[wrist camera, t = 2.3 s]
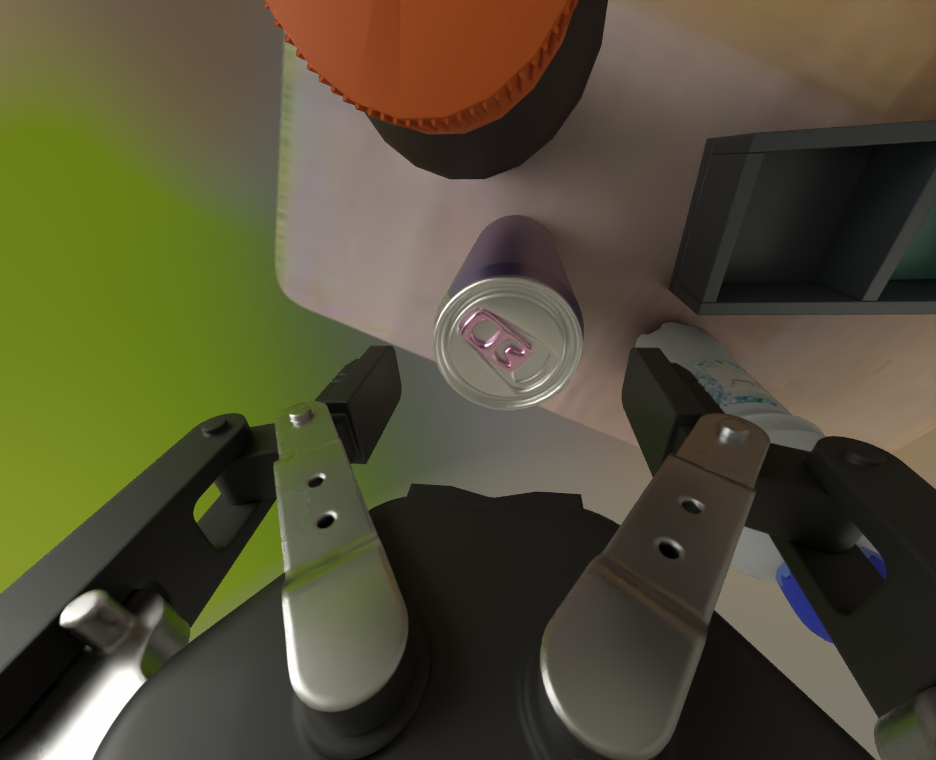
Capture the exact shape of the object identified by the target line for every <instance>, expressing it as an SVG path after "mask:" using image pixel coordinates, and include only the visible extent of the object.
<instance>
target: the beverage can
mask: <svg viewBox="0 0 936 760" xmlns="http://www.w3.org/2000/svg"><path fill="white" fill-rule="evenodd" d="M583 338H584V323H583V317H582V313H581V310H580V307H579V305H578V302H577V300H576V297H575V295H574V292H573V290H572V287H571V285H570V282H569V280H568V277H567V275H566V272H565V270H564V267H563V265H562V262H561V260H560V257H559V255H558V252H557V250H556V247H555V245H554V242H553V240H552V238H551V236H550V234H549V233H548V231H547V230H546V229H545V228H544V227H543V226H542V225H541V224H540V223H539V222H537V221H535V220H534V219H532V218H529V217H526V216H520V215H511V216H506V217H502V218H500V219H497V220H495V221H494V222H492V223H491V224H489V225H488V226H487V227H486V228H485V229H484V230H483V231H482V232H481V234H480V235H479V237H478V239H477V240H476V242H475V244H474V246H473V247H472V249H471V251H470V252H469V254H468V256H467V258H466V259H465V261H464V263H463V265H462V266H461V268H460V270H459V271H458V273H457V275H456V277H455V278H454V280H453V282H452V284H451V285H450V287H449V289H448V290H447V292H446V294H445V296H444V297H443V299H442V301H441V303H440V305H439V308H438V310H437V313H436V317H435V323H434V336H433V350H434V356H435V360H436V363H437V365H438V368H439V370H440V372H441V374H442V375H443V377H444V378H445V380H446V381H447V382H448V384H449V385H450V386H451V387H452V388H453V389H454V390H455V391H456V392H458V393H459V394H460V395H461V396H463V397H464V398H466V399H468V400H470V401H471V402H474V403H476V404H478V405H481V406H484V407H487V408H491V409H497V410H520V409H525V408H530V407H533V406H536V405H539V404H541V403H543V402H545V401H547V400H549V399H551V398H552V397H554V396H555V395H556V394H558V393H559V392H560V391H561V390H562V389H563V388H564V387H565V386H566V385H567V384H568V383H569V382H570V380H571V379H572V377H573V376H574V374H575V372H576V370H577V368H578V366H579V363H580V360H581V356H582V350H583Z"/></svg>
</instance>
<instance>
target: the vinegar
mask: <svg viewBox="0 0 936 760" xmlns="http://www.w3.org/2000/svg"><path fill="white" fill-rule="evenodd" d="M607 3H608V0H266V1H265V2H264V7H266V8H268V9H269V10H271V12H272V14H273V15H274V16H275V18H276V19H275V21H274V24H275V25H276V26H278V27H280V28H282V29H283V30H285V32H286V33H287V34H286V36H285V41H286V42H288V43H290V44H292V45H294V46H296V47H297V48H298V49H297V51H296V56H297V57H299V58H301V59H304V60H306V61H307V62H308V65H307V69H308V70H310V71H312V72H314V73H317V74H319V75H320V76H319V82H322V83H324V84H327V85H329V86H331V92H332V93H335V94H338V95H340V96H343V101H344V102H347V103H350V104H353V105H355V108H356V109H357V110H360V111H363V112H365V114H366V115H367V116H368V118H369V119H370V121H371V122H372V124H373V125H374V127H375V128H376V129H377V131H378V132H379V134H380V135H381V137H382V138H383V139H384V141H385V142H386V143H388V144H389V145H390V146H391V147H393V148H394V149H395V150H396V151H397V152H399V153H400V154H401V155H402V156H404V157H405V158H406V159H407V160H409V161H410V162H411V163H412V164H413V165H415V166H416V167H419V168H421V169H424V170H427V171H429V172H432V173H435V174H437V175H440V176H443V177H446V178H448V179H486V178H489V177H492V176H494V175H497V174H500V173H502V172H505V171H507V170H510V169H513V168H515V167H518V166H520V165H521V164H523V163H524V162H525V161H526V160H528V159H529V158H530V157H531V156H532V155H534V154H535V153H536V152H537V151H539V150H540V149H541V148H542V147H543V146H545V145H546V144H547V143H548V142H550V141H551V140H552V139H553V138H554V136H555V135H556V133H557V132H558V131H559V129H560V128H561V126H562V125H563V123H564V122H565V121H566V119H567V118H568V116H569V115H570V113H571V112H572V111H573V109H574V108H575V106H576V105H577V103H578V102H579V101H580V99H581V97H582V94H583V91H584V89H585V86H586V84H587V81H588V79H589V76H590V73H591V71H592V68H593V66H594V63H595V60H596V58H597V55H598V53H599V50H600V47H601V44H602V38H603V31H604V24H605V17H606V10H607Z"/></svg>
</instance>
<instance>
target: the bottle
mask: <svg viewBox="0 0 936 760" xmlns="http://www.w3.org/2000/svg"><path fill="white" fill-rule="evenodd" d="M635 347H641V348H660V349H661V351H662V352H663V353H664V355H665V356H666V357H667V358H668V360H669V361H670V362H671V363H677V364H679V365H681V366H682V367H684V368H686V369H687V370H689V371H691V373H692V374H693V375H694V376H695V377H696V379H697V380H698V383H701V385H702V386H703V387H704V388H705V391H707V392H708V393H709V394H710V396H711V397H712V398H713V399H714V400H715V402H716V403H717V404H718V405H719V406H720V408H721V409H722V410H723V411H724V412H725V414H730V415H734V416H738V417H741V418H744V419H746V420H748V421H750V422H752V423H754V424H756V425H757V426H759V427H760V428H762V429H763V430H764V431H765V432H766V433H767V434H768V436H769V438H770V443H774V444H778V445H782V446H787V447H792V448H796V449H801V450H805V451H810V452H811V451H812V449H813V448H814V446H815V444H816V443H817V441H818V440H819V439H821V438H824V437H827V436H825V435H824V433H823V432H822V431H821V430H820V429H819V428H818V427H817V426H816V425H814V424H813V423H811V422H809V421H807V420H805V419H803V418H800V417H798V416H793V415H792V414H791V413H790V412H789V411H788V410H787V409H785V408H784V407H783V406H782V405H781V404H780V403H779V402H778V401H777V400H776V399H775V398H774V397H773V396H772V395H771V394H769V393H768V392H767V391H766V390H765V389H764V388H763V387H762V386H761V385H760V384H759V383H758V382H757V381H756V380H755V379H754V378H752V377H751V376H750V375H749V374H748V373H747V372H746V371H745V370H744V369H742V368H741V367H740V366H739V364H738V363H737V362H736V361H735V360H734V358H733V357H732V356H731V355H730V354H729V352H728V351H727V350H726V349H725V348H724V347H723V346H722V345H721V344H720V342H719V341H718V340H717V339H716V338H714V337H713V336H712V335H711V334H710V333H708V332H707V331H705V330H704V329H702V328H700V327H697V326H688V325H683V324H679V323H675V322H668V323H664V324H662V325H661V329H659V330H657V331H655V332H653V333H651V334H642V335H640V336H639V338H638V339H637V340H636V343H635ZM628 359H629V357H628ZM627 364H628V361H627ZM856 544H857V546H858V547H859V548H860V549H861V551H862V552H863V553H864V554H865V555H866V557H867V558H868V559H869V560H870V562H871V563H872V564H873V565H874V566H875V568H876V569H877V570H878V571H879V573H880V574H881V575H882V576H883V577H884V579H885V580H886V575H887V571H886V566H885V563H884V560H883V558H882V557H881V555H880V554H879V552H878V551H877V550H876V549H875V548H874V546H873V545H872V544H871V543H870V542H869V541H868V539H867V538H866V537H865V536H864V535H863V536H862V537H861V538H860V539H859V540H858V541H857V543H856ZM731 565H732V566H733V567H734V568H736V569H737V570H739V571H740V572H742V573H744V574H746V575H748V576H752V577H755V578H758V579H761V580H767V581H772V582H778V584H779V586H780V587H781V590H782V591H783V593H784V595H785V597H786V598H787V600H788V602H789V603H790V605H791V607H792V608H793V609H794V611H795V613H796V614H797V615H798V617H799V618H800V619H801V621H802V622H803V623H804V624H805V625H806V626H807V627H808V628H809V629H810V630H811V631H812V632H814V633H815V634H816V635H818V636H820V637H821V638H823V639H824V640H826V641H828V642H831V643H833V641H832V640H831V638H830V636H829V635H828V633H827V631H826V630H825V628H824V626H823V625H822V623H821V621H820V620H819V618H818V616H817V615H816V613H815V611H814V610H813V608H812V606H811V605H810V603H809V601H808V600H807V598H806V596H805V595H804V593H803V591H802V590H801V588H800V586H799V585H798V583H797V581H796V580H795V578H794V576H793V575H792V573H791V571H790V570H789V568H788V566H787V565H786V563H785V561H784V560H783V558H782V556H781V555H780V553H779V551H778V550H777V548H776V546H775V545H774V543H773V541H772V540H771V538H770V536H769V534H766V533H763V532H760V531H756V530H753V529H750V528H747V527H743V530H742V533H741V536H740V539H739V541H738V544H737V547H736V550H735V552H734V555H733V558H732V561H731Z"/></svg>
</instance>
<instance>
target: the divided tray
mask: <svg viewBox="0 0 936 760" xmlns="http://www.w3.org/2000/svg"><path fill="white" fill-rule="evenodd" d="M669 290H670V291H671V292H672V293H673V294H674V295H675V296H677V297H678V298H679V299H680V300H681V301H682V302H683V303H685V304H686V305H687V306H688V307H689V308H690V309H691V310H693V311H694V312H695V313H696V314H697V315H840V314H936V120H930V121H916V122H902V123H888V124H873V125H859V126H845V127H831V128H817V129H803V130H789V131H775V132H761V133H751V134H743V135H735V136H727V137H719V138H711V139H707V142H706V146H705V150H704V154H703V158H702V162H701V166H700V170H699V174H698V178H697V182H696V185H695V189H694V193H693V197H692V201H691V205H690V209H689V213H688V217H687V221H686V225H685V229H684V232H683V236H682V240H681V244H680V248H679V252H678V256H677V260H676V264H675V268H674V272H673V275H672V279H671V283H670V287H669Z"/></svg>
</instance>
